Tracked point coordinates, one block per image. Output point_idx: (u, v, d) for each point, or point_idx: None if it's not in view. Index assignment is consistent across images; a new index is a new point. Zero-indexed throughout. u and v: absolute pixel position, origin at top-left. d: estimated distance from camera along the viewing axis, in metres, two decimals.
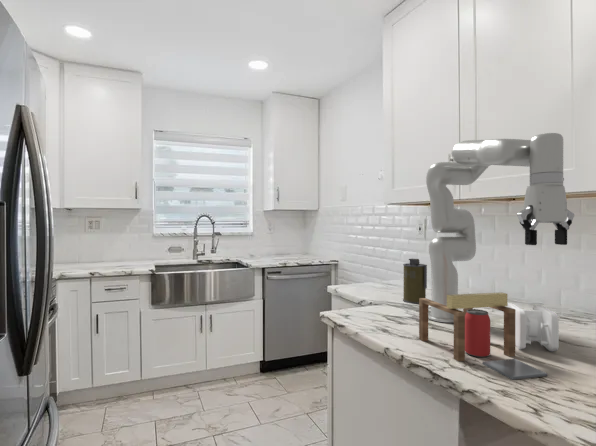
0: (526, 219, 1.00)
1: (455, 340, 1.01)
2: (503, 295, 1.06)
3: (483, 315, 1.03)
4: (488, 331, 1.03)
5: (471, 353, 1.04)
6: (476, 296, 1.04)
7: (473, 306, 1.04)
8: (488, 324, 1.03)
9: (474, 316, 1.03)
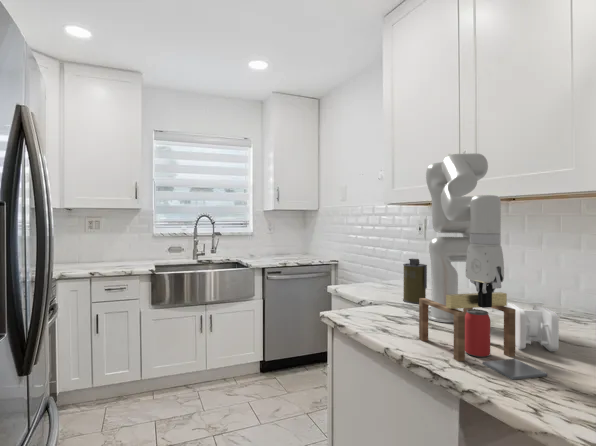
0: (493, 280, 0.98)
1: (455, 340, 1.01)
2: (502, 295, 1.07)
3: (483, 315, 1.03)
4: (488, 331, 1.03)
5: (471, 353, 1.04)
6: (475, 296, 1.05)
7: (472, 306, 1.04)
8: (488, 324, 1.03)
9: (474, 316, 1.03)
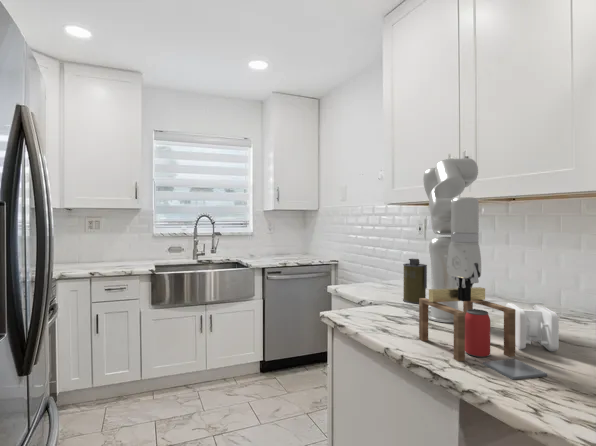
0: (470, 276, 1.06)
1: (455, 340, 1.01)
2: (481, 290, 1.15)
3: (483, 315, 1.03)
4: (488, 331, 1.03)
5: (471, 353, 1.04)
6: (456, 290, 1.13)
7: (453, 300, 1.13)
8: (488, 324, 1.03)
9: (474, 316, 1.03)
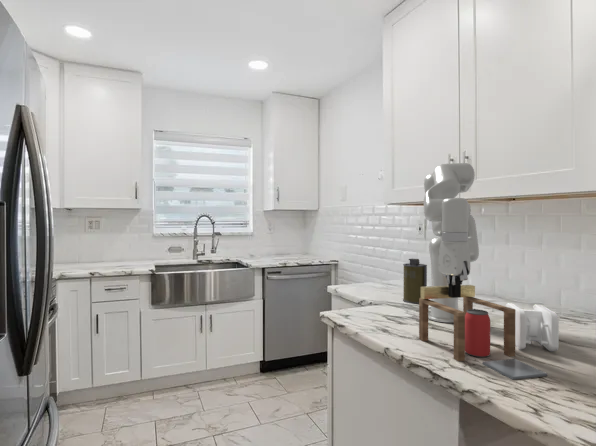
0: (460, 273, 1.11)
1: (455, 340, 1.01)
2: (471, 287, 1.19)
3: (483, 315, 1.03)
4: (488, 331, 1.03)
5: (471, 353, 1.04)
6: (446, 288, 1.18)
7: (444, 297, 1.17)
8: (488, 324, 1.03)
9: (474, 316, 1.03)
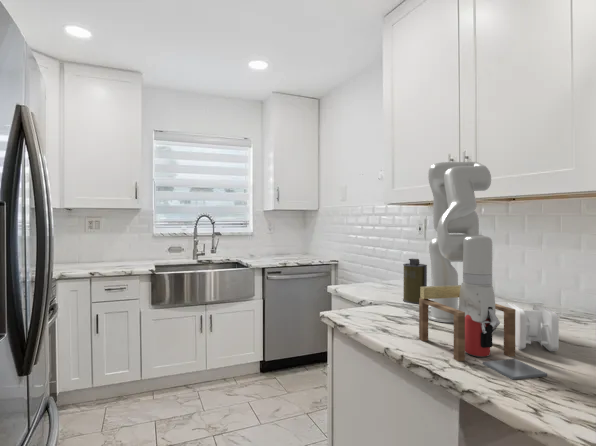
0: (484, 320, 1.01)
1: (455, 340, 1.01)
2: None
3: None
4: None
5: (471, 353, 1.04)
6: (446, 288, 1.18)
7: (443, 296, 1.17)
8: None
9: None
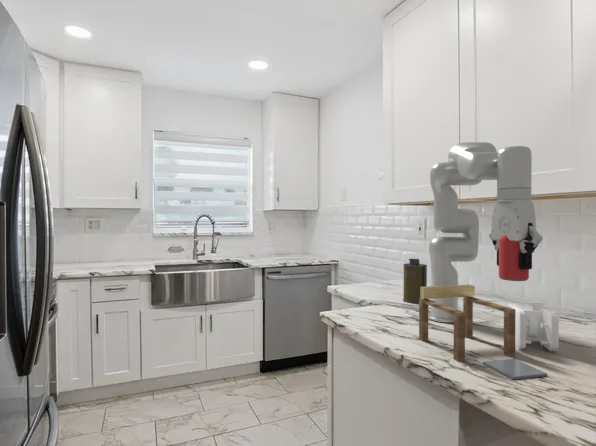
0: None
1: (455, 340, 1.01)
2: (471, 287, 1.20)
3: None
4: None
5: (507, 277, 0.92)
6: (446, 288, 1.18)
7: (443, 296, 1.17)
8: None
9: None
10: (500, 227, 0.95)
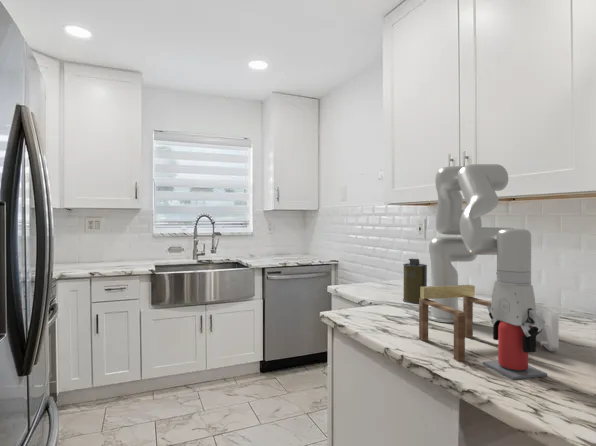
0: (523, 324, 0.89)
1: (455, 340, 1.01)
2: (471, 287, 1.20)
3: None
4: None
5: (507, 366, 0.92)
6: (446, 288, 1.18)
7: (443, 296, 1.17)
8: None
9: (510, 325, 0.92)
10: (500, 308, 0.95)
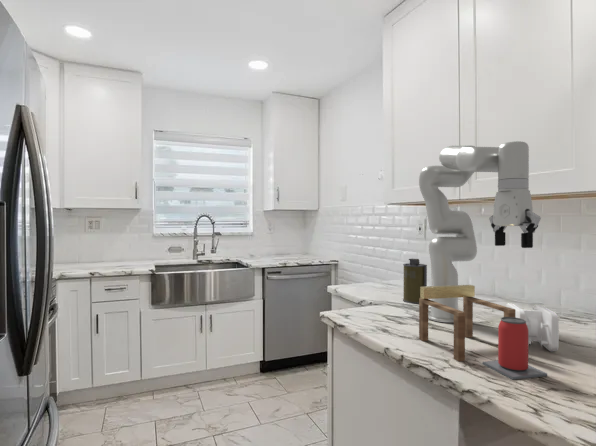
0: (522, 222, 1.01)
1: (455, 340, 1.01)
2: (471, 287, 1.20)
3: (521, 324, 0.92)
4: (526, 342, 0.92)
5: (507, 367, 0.92)
6: (446, 288, 1.18)
7: (443, 296, 1.17)
8: (526, 334, 0.92)
9: (510, 325, 0.92)
10: (501, 213, 1.07)
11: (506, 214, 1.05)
